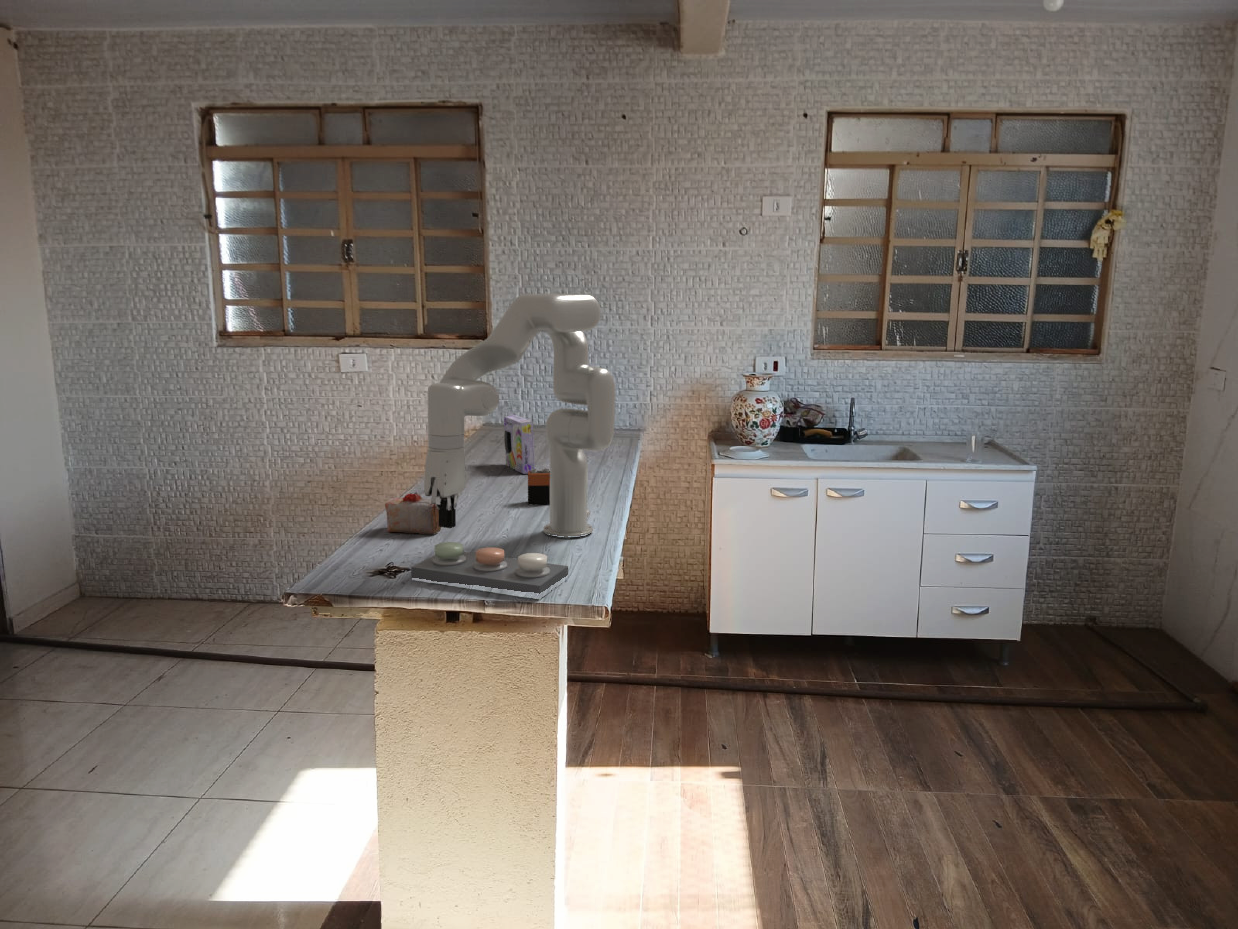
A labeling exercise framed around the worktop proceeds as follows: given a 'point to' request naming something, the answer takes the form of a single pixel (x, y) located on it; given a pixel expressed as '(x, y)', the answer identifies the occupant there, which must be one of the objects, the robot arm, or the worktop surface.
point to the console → (488, 573)
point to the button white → (532, 561)
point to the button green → (448, 550)
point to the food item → (412, 515)
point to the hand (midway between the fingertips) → (447, 526)
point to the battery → (539, 486)
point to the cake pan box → (519, 443)
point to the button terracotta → (490, 555)
